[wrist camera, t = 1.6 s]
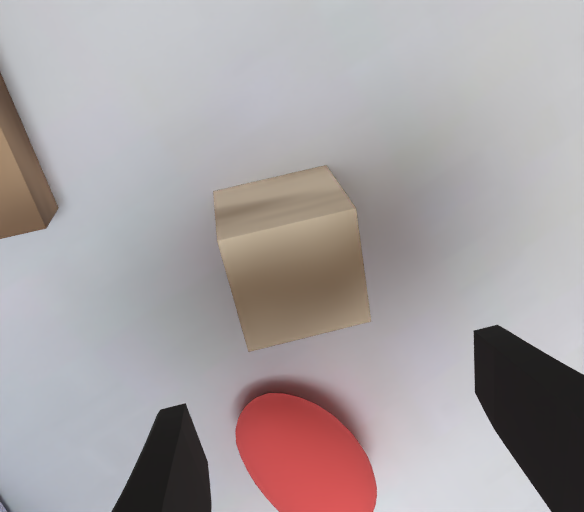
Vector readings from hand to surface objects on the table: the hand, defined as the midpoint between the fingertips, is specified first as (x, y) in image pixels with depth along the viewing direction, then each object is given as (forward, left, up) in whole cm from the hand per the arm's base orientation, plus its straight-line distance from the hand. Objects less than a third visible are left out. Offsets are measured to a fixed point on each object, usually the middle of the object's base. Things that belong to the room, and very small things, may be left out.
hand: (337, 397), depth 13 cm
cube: (0, 0, -10) cm, 10 cm away
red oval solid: (-12, +1, -10) cm, 16 cm away
